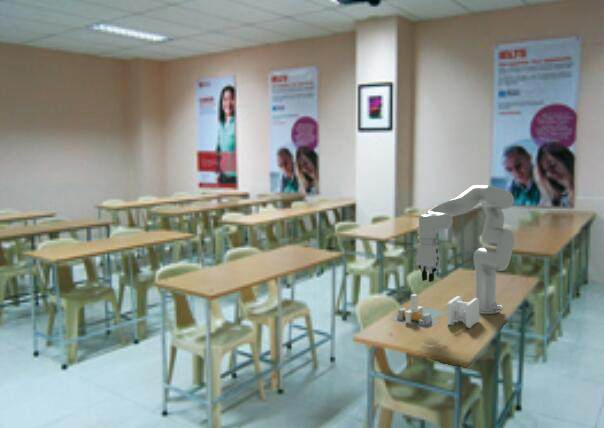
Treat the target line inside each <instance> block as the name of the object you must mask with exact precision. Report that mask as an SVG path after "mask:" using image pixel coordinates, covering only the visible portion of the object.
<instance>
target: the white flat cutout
mask: <svg viewBox="0 0 604 428" xmlns="http://www.w3.org/2000/svg"><path fill="white" fill-rule="evenodd" d="M418 297H419V295H418V294H416V293H413V294H411V295H410V308H411V310H408V311H406V312H405V319H406V323H411V314H412V313H414V312H416V311H418V313H422V314H423V308H424V306H420V305H419V298H418Z"/></svg>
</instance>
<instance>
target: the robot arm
mask: <svg viewBox="0 0 604 428" xmlns="http://www.w3.org/2000/svg"><path fill="white" fill-rule="evenodd" d="M514 203H515V198H514V196H513V193H511V192H510V191H507V190H505V189H502V188H500V187H496V186H493V185H489V184H475V185H471V186H470V187H468V188H467V189H466V190H465V191H463V192H461V194H459V195H458V196H456V197H455V198H452V199H450V200H447V201H444V202H442V203H439V204H437V205H435V206H434V207H432V208H431V209H429V210H428V211H427V212H426V213H425V214H424V213H423V214H421V215H419V217H418V236H419V237H418V241H419V242H418V244H417V249H416V261H415V263H414V265H415V267H417V268H418V269H419V271H420V272H421V280H422V282H424V281H426V280H427V281H428V282H429V283H431V282H434V281H435V273H436V271H438V270H441V269H442V266H441V256H440V248H439V244H438V243H439V240H438V239H437V230H444V231H445V230H448V229H450V228H451V227H452V226H453V225H454V219H453V217H452V216H458V215H464V214H467V213H468V212H469V211H471V210H472V209H473V208H475V207H476V206H478V205H479V204H481V205H482V207H483V209H484V211H485V216H486V217H485V222H484V226H483V230H482V233H481V242H482V243H483V245H486V246H489V247H495V248H496V249H493V248H489V247H488V248H487V247H478V248H477V249H476V250H475V251H474V252H473V257H472V258H473V263H474V270H475V298H478V299H479V314H483V315H493V314H497V313H499V312H501V311H502V312H503V311H504V306H503V305H500V304H498V301H497V300H496V299H497V296H496V295H497V293H496V292H497V276H496V271H501V272H502V271H505V270H506V269H507V268H508V267H509V264H510V262H511V257H512V254H513V250H514V245H515V241H516V240H515V235H514V231H512V230H511V229H508V228H503V227H504V224H505V223H504V222H505V214H504V211H503V210H508V209H511V207H513V205H514ZM427 267H428V268H429V273H428V271H427Z"/></svg>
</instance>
